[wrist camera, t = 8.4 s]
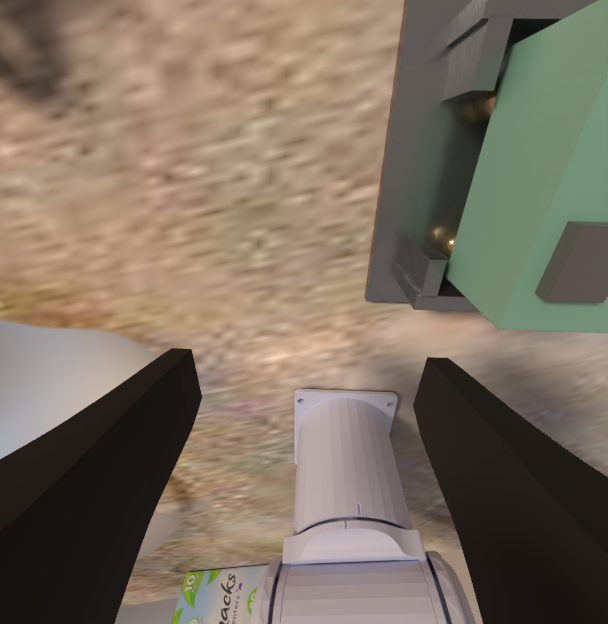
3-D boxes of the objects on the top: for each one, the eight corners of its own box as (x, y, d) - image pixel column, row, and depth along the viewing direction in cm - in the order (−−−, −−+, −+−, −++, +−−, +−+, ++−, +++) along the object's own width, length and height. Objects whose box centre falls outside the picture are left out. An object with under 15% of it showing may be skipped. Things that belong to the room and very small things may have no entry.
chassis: (538, 302, 18) (582, 333, 15) (364, 296, 19) (374, 326, 16) (687, -12, 11) (823, -70, 8) (406, -14, 12) (439, -70, 9)
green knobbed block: (522, 279, 15) (629, 346, 10) (444, 276, 15) (510, 341, 10) (623, 48, 10) (913, -46, 5) (510, 46, 10) (692, -49, 5)
